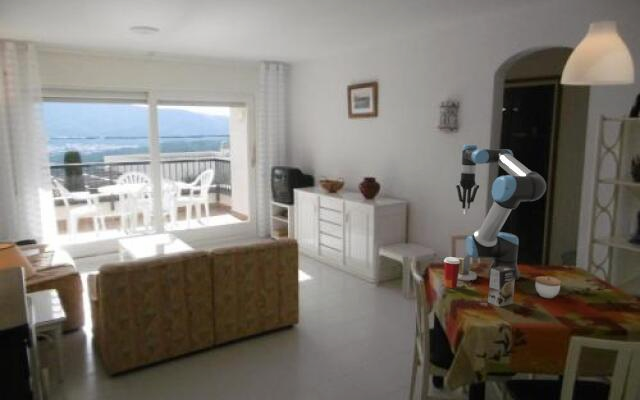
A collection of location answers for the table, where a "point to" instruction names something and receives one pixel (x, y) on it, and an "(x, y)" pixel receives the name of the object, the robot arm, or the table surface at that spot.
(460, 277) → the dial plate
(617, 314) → the table surface
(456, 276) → the paper cup
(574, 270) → the table surface
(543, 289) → the white bowl
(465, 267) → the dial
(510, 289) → the coffee box
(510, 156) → the robot arm
